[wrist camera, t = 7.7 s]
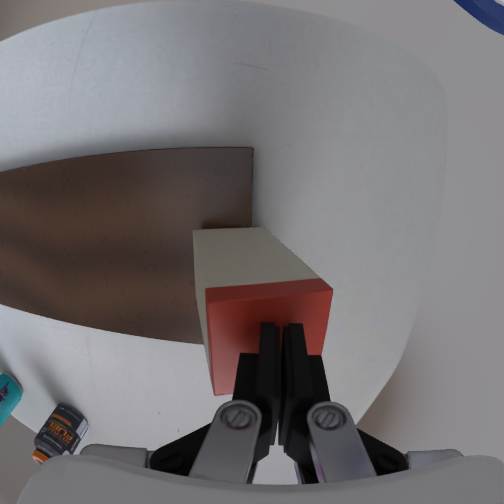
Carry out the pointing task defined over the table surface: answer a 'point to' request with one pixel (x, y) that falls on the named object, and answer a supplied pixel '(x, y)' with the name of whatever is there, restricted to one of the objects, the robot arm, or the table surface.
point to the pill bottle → (59, 434)
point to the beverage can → (8, 395)
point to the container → (252, 296)
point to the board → (118, 235)
